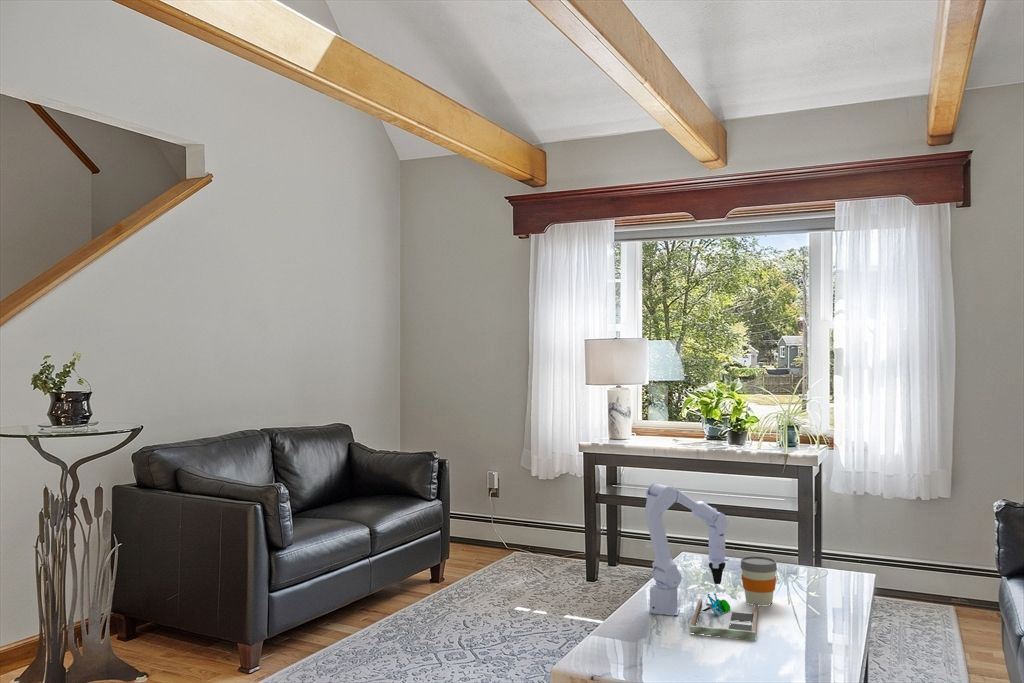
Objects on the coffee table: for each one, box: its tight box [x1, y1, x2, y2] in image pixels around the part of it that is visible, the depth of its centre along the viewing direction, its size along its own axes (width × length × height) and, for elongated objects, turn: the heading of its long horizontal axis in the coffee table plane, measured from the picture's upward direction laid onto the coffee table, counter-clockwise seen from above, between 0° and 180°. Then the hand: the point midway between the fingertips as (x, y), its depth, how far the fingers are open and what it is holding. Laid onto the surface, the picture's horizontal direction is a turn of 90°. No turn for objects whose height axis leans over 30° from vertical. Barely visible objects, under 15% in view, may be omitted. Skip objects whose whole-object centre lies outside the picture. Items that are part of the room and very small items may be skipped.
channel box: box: [689, 598, 759, 641], centre depth 275 cm, size 20×30×2 cm, turn 162°
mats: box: [728, 612, 754, 631], centre depth 274 cm, size 7×20×1 cm, turn 162°
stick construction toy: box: [702, 593, 731, 617], centre depth 286 cm, size 12×7×8 cm
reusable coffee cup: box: [740, 555, 778, 607], centre depth 296 cm, size 12×13×15 cm
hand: (717, 583), depth 295 cm, fingers closed
